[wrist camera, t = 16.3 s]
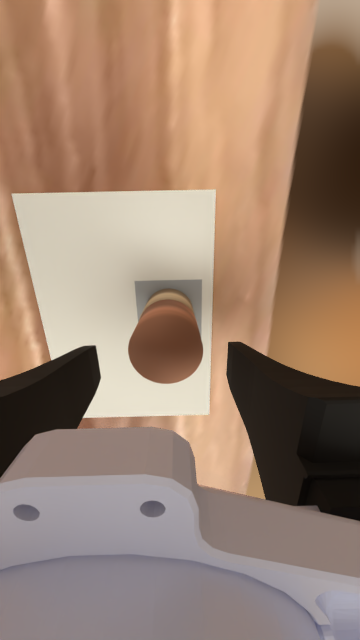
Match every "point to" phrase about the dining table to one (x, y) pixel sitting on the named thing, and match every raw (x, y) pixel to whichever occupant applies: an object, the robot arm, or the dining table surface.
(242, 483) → the dining table surface
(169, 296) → the maple drum
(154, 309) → the rust drum
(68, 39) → the dining table surface
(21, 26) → the dining table surface
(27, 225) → the baseplate
